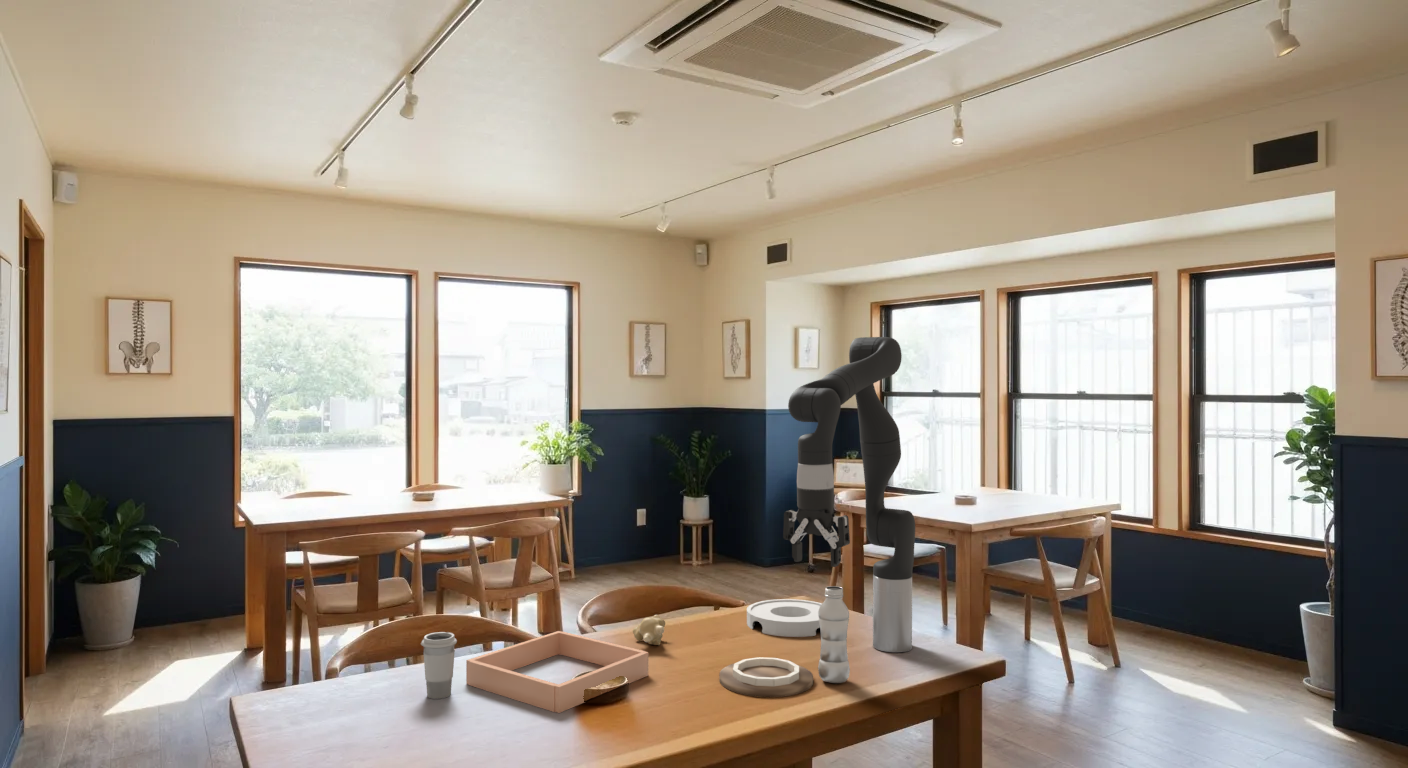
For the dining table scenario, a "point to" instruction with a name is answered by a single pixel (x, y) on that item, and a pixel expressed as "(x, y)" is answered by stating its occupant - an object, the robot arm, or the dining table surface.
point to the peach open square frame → (500, 679)
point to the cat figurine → (650, 630)
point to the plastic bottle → (833, 637)
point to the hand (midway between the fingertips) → (816, 563)
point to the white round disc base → (785, 617)
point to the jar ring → (766, 680)
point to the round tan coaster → (766, 691)
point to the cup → (439, 663)
